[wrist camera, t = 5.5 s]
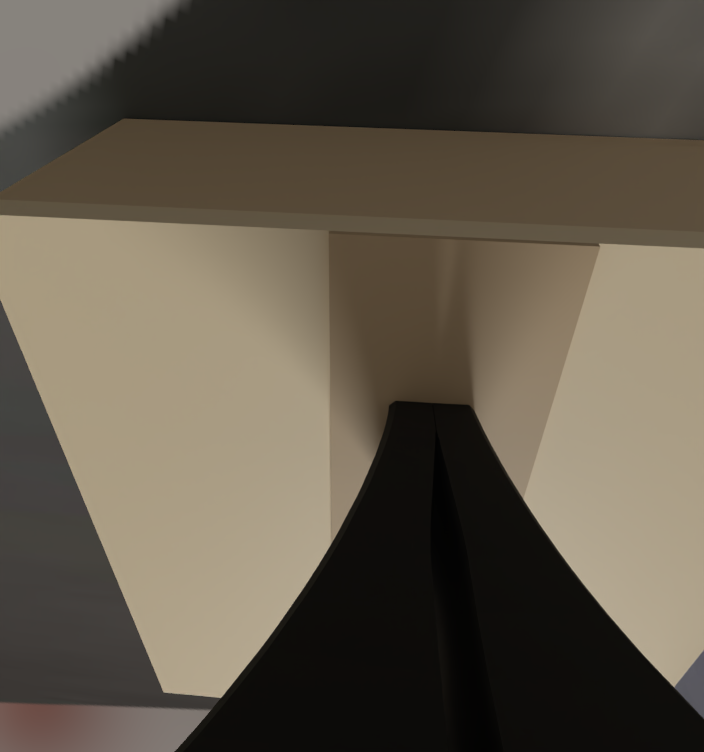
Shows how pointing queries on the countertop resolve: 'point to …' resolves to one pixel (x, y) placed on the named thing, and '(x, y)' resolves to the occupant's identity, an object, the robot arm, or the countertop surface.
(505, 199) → the cardboard box
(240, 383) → the cardboard lid
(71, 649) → the countertop surface
